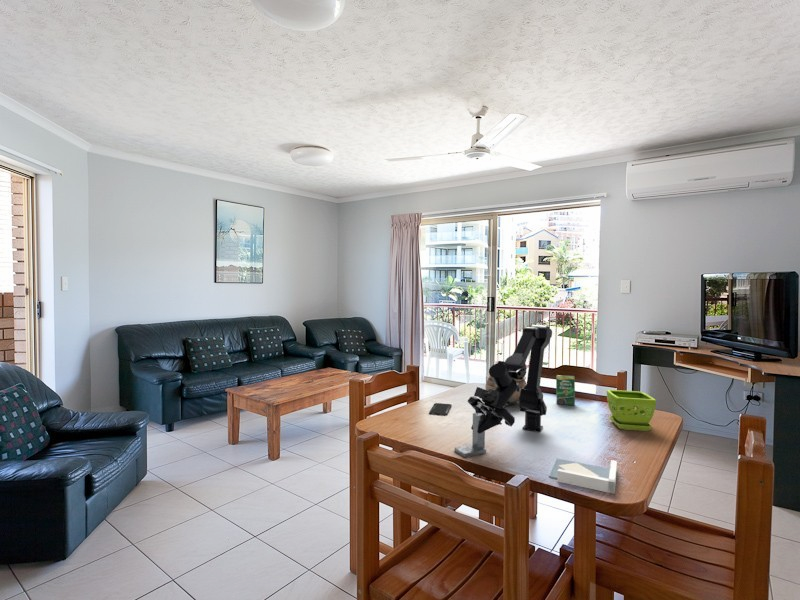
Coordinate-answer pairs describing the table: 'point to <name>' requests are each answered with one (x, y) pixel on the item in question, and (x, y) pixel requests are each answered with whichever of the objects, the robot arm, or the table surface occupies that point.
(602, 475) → the mat
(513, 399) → the cooking pot
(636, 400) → the flower pot
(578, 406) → the table surface
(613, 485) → the walls
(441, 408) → the phone
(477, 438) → the bracket
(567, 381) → the coffee box
